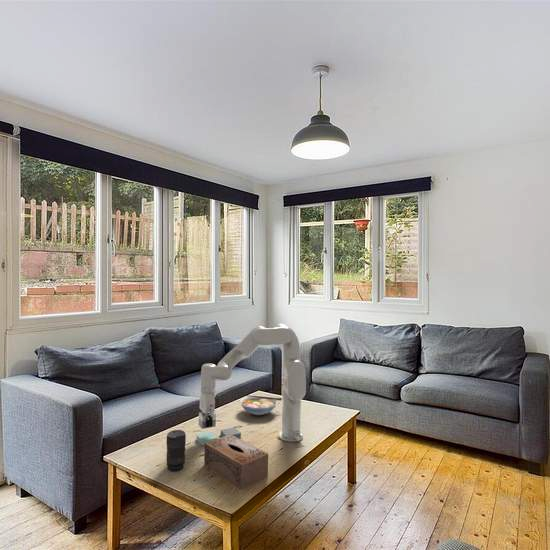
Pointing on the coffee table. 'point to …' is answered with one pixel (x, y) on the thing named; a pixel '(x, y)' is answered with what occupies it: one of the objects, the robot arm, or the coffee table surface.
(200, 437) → the stand
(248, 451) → the tissue box cover
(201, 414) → the block
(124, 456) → the coffee table surface
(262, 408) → the ramen bowl
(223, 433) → the stand
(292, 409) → the robot arm
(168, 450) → the camera lens
